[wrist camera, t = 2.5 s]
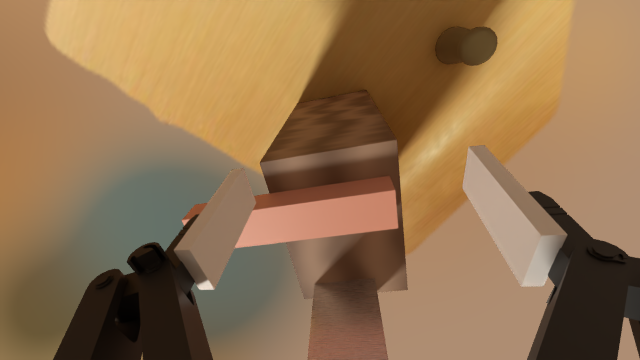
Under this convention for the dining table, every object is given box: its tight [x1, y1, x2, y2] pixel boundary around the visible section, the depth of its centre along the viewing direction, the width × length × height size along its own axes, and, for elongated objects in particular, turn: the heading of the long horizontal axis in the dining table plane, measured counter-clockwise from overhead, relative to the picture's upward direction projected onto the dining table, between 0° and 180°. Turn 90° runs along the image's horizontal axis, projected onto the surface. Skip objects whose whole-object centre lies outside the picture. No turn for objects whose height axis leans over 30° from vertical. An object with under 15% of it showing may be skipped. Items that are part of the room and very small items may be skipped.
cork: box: [435, 27, 497, 66], centre depth 43 cm, size 6×6×11 cm
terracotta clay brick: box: [182, 176, 398, 248], centre depth 28 cm, size 22×4×3 cm, turn 101°
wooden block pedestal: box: [260, 90, 408, 299], centre depth 44 cm, size 14×21×30 cm, turn 11°
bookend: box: [308, 278, 388, 360], centre depth 29 cm, size 8×2×13 cm, turn 101°
